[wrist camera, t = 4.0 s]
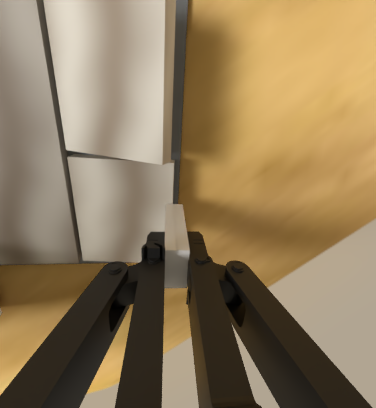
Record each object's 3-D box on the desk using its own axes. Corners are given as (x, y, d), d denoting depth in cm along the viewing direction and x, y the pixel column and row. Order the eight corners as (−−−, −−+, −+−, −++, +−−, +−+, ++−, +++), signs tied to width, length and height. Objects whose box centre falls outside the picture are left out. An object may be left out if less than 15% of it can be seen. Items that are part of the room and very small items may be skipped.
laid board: (-9, 256, 20) (-18, 264, 19) (-110, -36, 12) (-137, -50, 11) (83, 255, 21) (78, 263, 20) (42, -15, 13) (31, -27, 12)
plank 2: (88, 252, 21) (83, 260, 20) (74, 154, 17) (67, 156, 16) (170, 255, 21) (170, 263, 20) (174, 159, 18) (173, 162, 17)
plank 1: (79, 148, 17) (66, 150, 16) (59, -9, 13) (40, -20, 12) (170, 161, 14) (162, 165, 13) (176, -27, 11) (165, -43, 10)
